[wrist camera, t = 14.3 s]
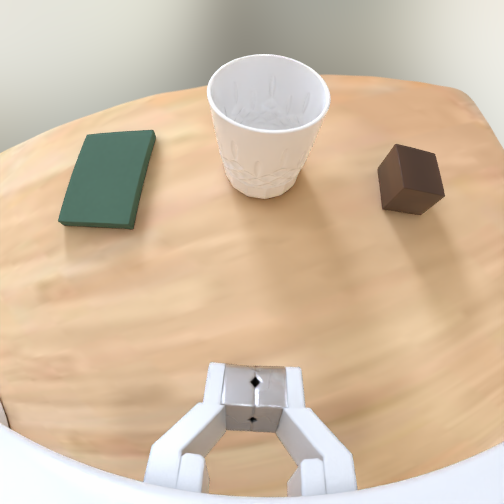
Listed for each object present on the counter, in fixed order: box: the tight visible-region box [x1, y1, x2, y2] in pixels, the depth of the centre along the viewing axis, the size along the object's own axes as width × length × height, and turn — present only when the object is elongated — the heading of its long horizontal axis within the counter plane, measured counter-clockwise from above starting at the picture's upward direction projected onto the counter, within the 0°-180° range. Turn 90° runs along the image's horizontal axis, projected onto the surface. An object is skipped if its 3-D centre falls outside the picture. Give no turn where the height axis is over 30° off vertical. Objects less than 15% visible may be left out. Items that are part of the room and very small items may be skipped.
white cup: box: [207, 54, 330, 199], centre depth 21 cm, size 8×8×10 cm
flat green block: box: [58, 130, 156, 229], centre depth 25 cm, size 8×10×1 cm
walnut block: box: [378, 144, 445, 215], centre depth 24 cm, size 4×4×4 cm
